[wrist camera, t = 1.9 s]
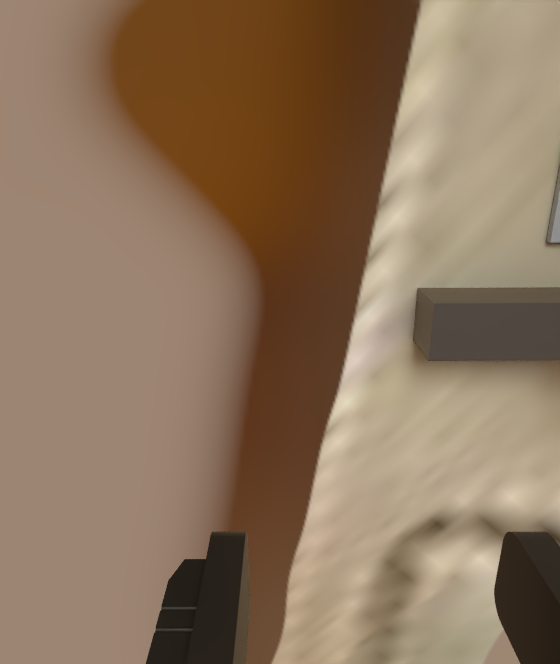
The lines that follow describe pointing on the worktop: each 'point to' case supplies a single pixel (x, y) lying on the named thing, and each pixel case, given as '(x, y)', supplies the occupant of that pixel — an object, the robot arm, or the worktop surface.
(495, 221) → the worktop surface
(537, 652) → the robot arm
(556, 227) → the mat
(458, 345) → the plug
